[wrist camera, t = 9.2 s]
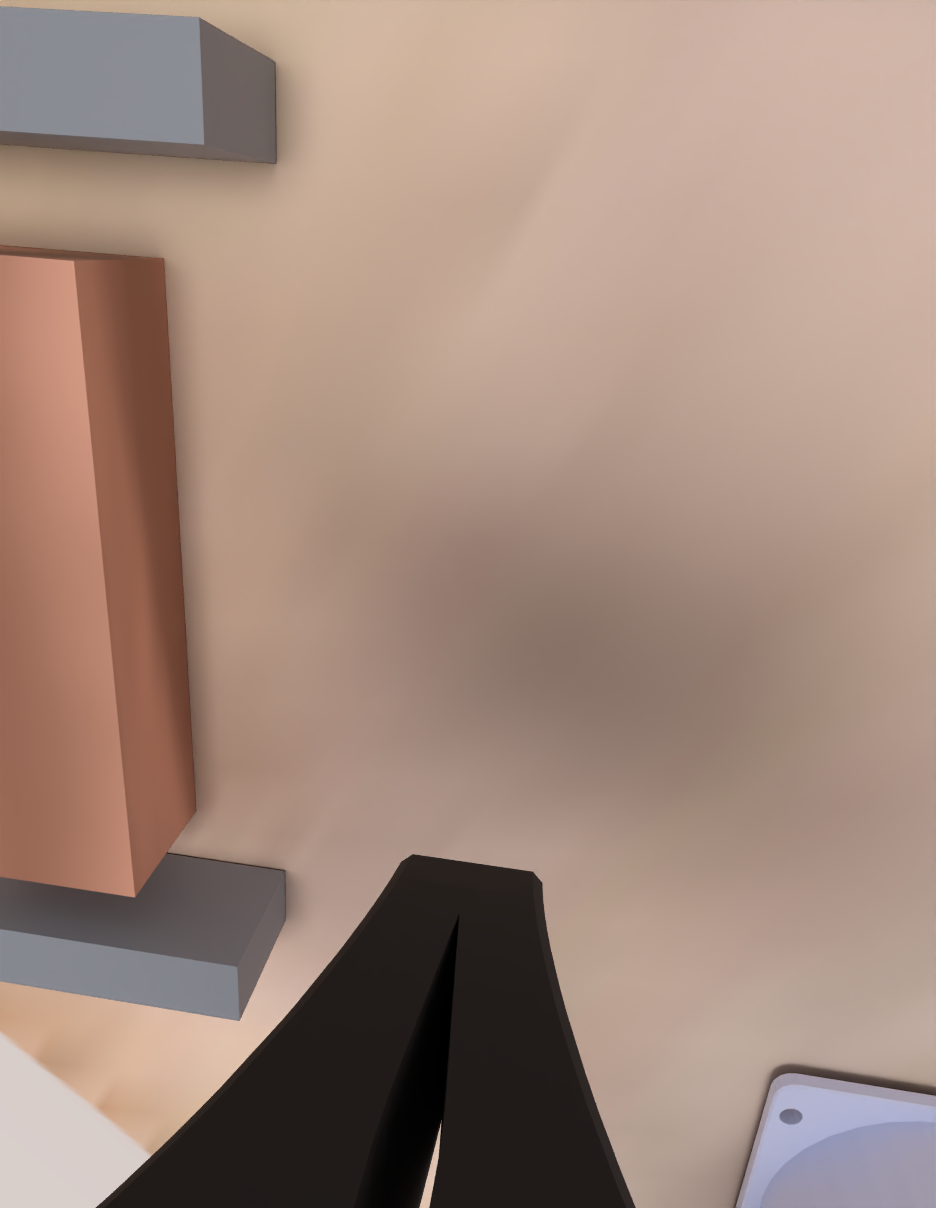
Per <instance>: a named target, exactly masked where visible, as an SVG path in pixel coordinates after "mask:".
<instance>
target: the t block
mask: <svg viewBox="0 0 936 1208" xmlns="http://www.w3.org/2000/svg"><path fill="white" fill-rule="evenodd" d="M195 811H196V798H195V781H194V764H193V747H192V730H191V713H190V695H189V678H188V661H187V644H186V627H185V610H184V593H183V576H182V559H181V542H180V525H179V508H178V491H177V473H176V456H175V439H174V422H173V405H172V388H171V371H170V354H169V337H168V320H167V303H166V286H165V268H164V259H163V258H151V257H139V256H127V255H115V254H103V253H90V252H78V251H66V250H54V249H42V248H29V247H17V246H5V245H0V877H5V878H12V879H18V880H25V881H31V882H38V883H44V884H51V885H57V886H63V887H70V888H76V889H83V890H89V891H96V892H102V893H109V894H115V895H122V896H128V897H136V895H137V894H138V893H139V891H140V890H141V888H142V887H143V885H144V884H145V883H146V881H147V880H148V878H149V877H150V876H151V874H152V873H153V871H154V870H155V868H156V867H157V866H158V864H159V863H160V861H161V860H162V858H163V857H164V856H165V854H166V853H167V851H168V850H169V848H170V847H171V846H172V844H173V843H174V841H175V840H176V839H177V837H178V836H179V834H180V833H181V831H182V830H183V829H184V827H185V826H186V824H187V823H188V821H189V820H190V819H191V817H192V816H193V814H194V813H195Z"/></svg>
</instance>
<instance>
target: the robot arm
mask: <svg viewBox="0 0 936 1208" xmlns="http://www.w3.org/2000/svg"><path fill="white" fill-rule="evenodd" d="M441 1120H442V1122H441ZM440 1124H441V1135H440V1148H439V1159H438V1164H437V1170H436V1175H435V1181H434V1186H433V1191H432V1197H431V1202H430V1207H429V1208H636V1207H635V1205H634V1203H633V1200H632V1198H631V1195H630V1193H629V1190H628V1188H627V1185H626V1183H625V1180H624V1178H623V1175H622V1173H621V1170H620V1168H619V1165H618V1162H617V1160H616V1157H615V1154H614V1152H613V1149H612V1146H611V1144H610V1141H609V1138H608V1136H607V1133H606V1130H605V1128H604V1125H603V1122H602V1120H601V1117H600V1114H599V1111H598V1109H597V1106H596V1103H595V1100H594V1097H593V1094H592V1091H591V1088H590V1085H589V1082H588V1080H587V1077H586V1074H585V1071H584V1067H583V1064H582V1061H581V1058H580V1054H579V1051H578V1048H577V1045H576V1041H575V1038H574V1035H573V1032H572V1028H571V1025H570V1022H569V1019H568V1015H567V1012H566V1009H565V1005H564V1001H563V998H562V994H561V990H560V986H559V983H558V978H557V974H556V970H555V965H554V961H553V957H552V952H551V948H550V943H549V938H548V932H547V927H546V920H545V913H544V904H543V891H542V882H541V881H540V880H539V878H538V877H537V876H536V875H535V874H534V873H533V872H531V871H524V870H517V869H510V868H503V867H497V866H490V865H483V864H476V863H469V862H462V861H455V860H449V859H442V858H435V857H428V856H421V855H414V854H412V855H411V856H409V857H408V858H406V859H405V860H403V861H402V862H401V863H400V865H399V866H398V868H397V870H396V871H395V873H394V875H393V876H392V878H391V880H390V881H389V883H388V884H387V886H386V887H385V889H384V890H383V892H382V893H381V895H380V896H379V898H378V899H377V901H376V902H375V904H374V905H373V906H372V908H371V909H370V911H369V912H368V913H367V915H366V916H365V918H364V919H363V920H362V922H361V923H360V924H359V926H358V927H357V928H356V930H355V931H354V932H353V934H352V935H351V936H350V938H349V939H348V940H347V942H346V943H345V944H344V946H343V947H342V948H341V950H340V951H339V952H338V953H337V955H336V956H335V957H334V958H333V959H332V961H331V962H330V963H329V964H328V966H327V967H326V968H325V969H324V970H323V972H322V973H321V974H320V975H319V977H318V978H317V979H316V980H315V982H314V983H313V984H312V985H311V986H310V988H309V989H308V990H307V991H306V993H305V994H304V995H303V996H302V997H301V999H300V1000H299V1001H298V1002H297V1004H296V1005H295V1006H294V1007H293V1008H292V1009H291V1011H290V1012H289V1013H288V1014H287V1015H286V1016H285V1018H284V1019H283V1020H282V1021H281V1022H280V1023H279V1024H278V1025H277V1026H276V1028H275V1029H274V1030H273V1031H272V1032H271V1033H270V1034H269V1035H268V1036H267V1037H266V1039H265V1040H264V1041H263V1042H262V1043H261V1044H260V1045H259V1046H258V1047H257V1048H256V1049H255V1051H254V1052H253V1053H252V1054H251V1055H250V1056H249V1057H248V1058H247V1059H246V1060H245V1061H244V1063H243V1064H242V1065H241V1066H240V1067H239V1068H238V1069H237V1070H236V1071H235V1072H234V1073H233V1075H232V1076H231V1077H230V1078H229V1079H228V1080H227V1081H226V1082H225V1083H224V1084H223V1085H222V1087H221V1088H220V1089H219V1090H218V1091H217V1092H216V1093H215V1094H214V1095H213V1096H212V1097H211V1098H210V1099H209V1100H208V1101H207V1102H206V1103H205V1104H204V1105H203V1106H202V1107H201V1108H200V1109H199V1110H198V1111H197V1112H196V1113H195V1114H194V1115H193V1116H192V1117H191V1118H190V1119H189V1120H188V1121H187V1122H186V1123H185V1124H184V1125H183V1126H182V1127H181V1128H180V1129H179V1130H178V1131H177V1132H176V1133H175V1134H174V1135H173V1136H172V1137H171V1138H170V1139H169V1140H168V1141H167V1142H166V1143H165V1144H164V1145H163V1146H162V1147H161V1148H160V1149H159V1150H158V1151H156V1152H155V1153H154V1154H153V1155H152V1156H151V1157H150V1158H149V1159H148V1160H147V1161H146V1162H145V1163H144V1164H143V1165H142V1166H141V1167H140V1168H138V1169H137V1170H136V1171H135V1172H134V1173H133V1174H132V1175H131V1176H130V1177H129V1178H128V1179H127V1180H126V1181H125V1182H124V1183H123V1184H122V1185H120V1186H119V1187H118V1188H117V1189H116V1190H115V1191H114V1192H113V1193H112V1194H111V1195H110V1196H108V1197H107V1198H106V1199H105V1200H104V1201H103V1202H102V1203H101V1204H99V1205H98V1206H97V1207H96V1208H419V1207H420V1203H421V1199H422V1195H423V1191H424V1187H425V1183H426V1179H427V1176H428V1172H429V1168H430V1164H431V1160H432V1156H433V1152H434V1148H435V1144H436V1140H437V1136H438V1132H439V1128H440ZM736 1208H936V1096H933V1095H927V1094H921V1093H915V1092H908V1091H902V1090H896V1089H890V1088H884V1087H877V1086H871V1085H865V1084H859V1083H853V1082H847V1081H840V1080H834V1079H828V1078H822V1077H816V1076H809V1075H803V1074H797V1073H787V1074H783V1075H780V1076H779V1077H777V1078H776V1079H774V1081H773V1083H772V1084H771V1087H770V1090H769V1093H768V1097H767V1100H766V1104H765V1107H764V1111H763V1114H762V1118H761V1121H760V1125H759V1128H758V1132H757V1135H756V1139H755V1142H754V1146H753V1149H752V1153H751V1156H750V1159H749V1163H748V1166H747V1170H746V1173H745V1177H744V1180H743V1184H742V1187H741V1191H740V1194H739V1198H738V1201H737V1205H736Z"/></svg>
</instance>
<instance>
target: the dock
mask: <svg viewBox="0 0 936 1208" xmlns="http://www.w3.org/2000/svg"><path fill="white" fill-rule="evenodd" d="M0 144H2V145H17V146H31V147H45V148H59V149H73V150H88V151H102V152H116V153H130V154H144V155H159V156H173V157H187V158H201V159H215V160H230V161H244V162H258V163H272V164H276V120H275V62H274V61H273V60H271V59H269V58H268V57H266V56H264V55H263V54H261V53H259V52H257V51H256V50H254V49H252V48H251V47H249V46H247V45H245V44H244V43H242V42H240V41H239V40H237V39H235V38H234V37H232V36H230V35H228V34H227V33H225V32H223V31H222V30H220V29H218V28H216V27H215V26H213V25H211V24H210V23H208V22H206V21H205V20H203V19H201V18H199V17H184V16H166V15H147V14H129V13H111V12H93V11H74V10H56V9H38V8H19V7H1V6H0ZM284 922H285V871H281V870H274V869H267V868H260V867H254V866H247V865H240V864H233V863H227V862H220V861H213V860H206V859H200V858H193V857H186V856H180V855H173V854H165V856H164V857H163V858H162V860H161V861H160V863H159V864H158V866H157V867H156V868H155V870H154V871H153V873H152V874H151V876H150V877H149V878H148V880H147V881H146V883H145V884H144V885H143V887H142V888H141V890H140V891H139V893H138V894H137V895H136V897H128V896H122V895H115V894H109V893H102V892H96V891H89V890H83V889H76V888H70V887H63V886H57V885H51V884H44V883H38V882H31V881H25V880H18V879H12V878H5V877H0V981H2V982H8V983H14V984H20V985H26V986H32V987H38V988H44V989H50V990H56V991H62V992H68V993H74V994H80V995H86V996H92V997H98V998H104V999H110V1000H116V1001H122V1002H128V1003H134V1004H140V1005H146V1006H152V1007H158V1008H164V1009H170V1010H176V1011H182V1012H188V1013H194V1014H200V1015H207V1016H213V1017H219V1018H225V1019H231V1020H237V1021H240V1019H241V1017H242V1014H243V1012H244V1010H245V1008H246V1006H247V1003H248V1001H249V999H250V997H251V995H252V992H253V990H254V988H255V986H256V984H257V981H258V979H259V977H260V975H261V973H262V971H263V968H264V966H265V964H266V962H267V960H268V957H269V955H270V953H271V951H272V949H273V946H274V944H275V942H276V940H277V938H278V935H279V933H280V931H281V929H282V927H283V925H284Z"/></svg>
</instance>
